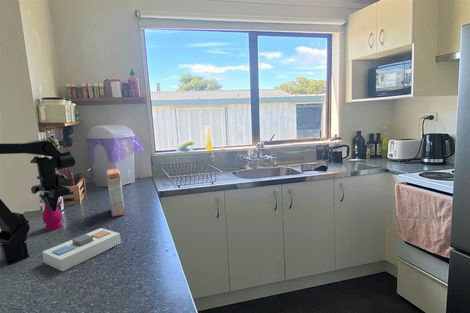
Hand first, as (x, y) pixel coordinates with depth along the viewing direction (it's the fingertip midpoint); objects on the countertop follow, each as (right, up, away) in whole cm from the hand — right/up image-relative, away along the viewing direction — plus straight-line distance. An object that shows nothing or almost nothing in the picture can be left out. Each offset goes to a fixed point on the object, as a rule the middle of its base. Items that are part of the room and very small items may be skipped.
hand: (53, 211), depth 119 cm
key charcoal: (+17, -10, -11) cm, 23 cm away
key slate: (+14, -13, -17) cm, 25 cm away
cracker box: (+13, -6, +32) cm, 35 cm away
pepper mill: (-9, -10, +16) cm, 21 cm away
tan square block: (+21, -10, -5) cm, 24 cm away
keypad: (+17, -13, -11) cm, 24 cm away
